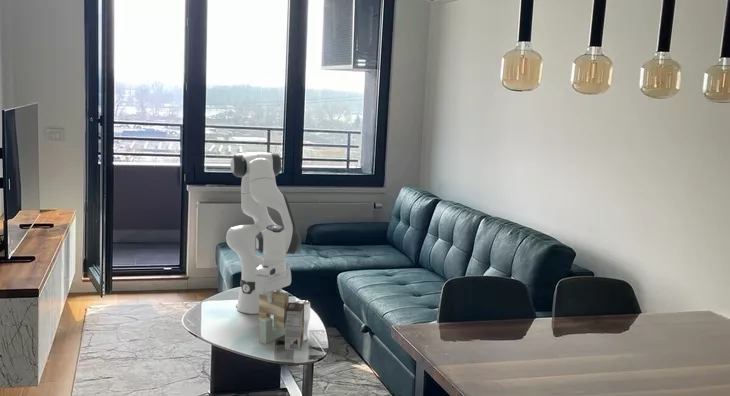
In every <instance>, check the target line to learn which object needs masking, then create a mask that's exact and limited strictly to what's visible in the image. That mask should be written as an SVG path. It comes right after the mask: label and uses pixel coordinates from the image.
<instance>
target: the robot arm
mask: <svg viewBox="0 0 730 396" xmlns="http://www.w3.org/2000/svg"><path fill="white" fill-rule="evenodd" d="M282 166H283V163H282V159H281V156H280V154H279V153H276V152H271V151H270V152H265V151H255V152H254V151H253V152H243V153H242V152H239V153H234V155H233V156H232V158H231V160H230V170H231V172H232V175H233V176H235V177H236V178H241V182H240V183H241V185H240V197H241V198H240V199H241V204H240V206H241V211H242V213H243V214H244V215H246V216H248V217H250V218H252V219H253V223H254V224H240V225H234V226H231V227H230V228H229V229H228V230H227V232H226V235H225V241H226V244H227V246H228V247H229V248H230V249H231V250H232V251H234V252H235V253H236V255H237V256H238V258H239V260H240V265H241V266H240V267H241V278H240V282H239V284H240V288H239V290H238V298H237V303H236V305H235V307H236V308H237V309H236V310H237V311H238V312H240V313H242V314H249V315H251V314H252V315H254V314H256V315H257V314H258V315H259V295H265V294H266V296H267V298H268V302H269V303H271V302H273V298H272V295H271V294H272V292H273V291H275V292H280V293H282V290H283V288H286V287H288V286H290V285H291V283H292V272H291V268H290V265H289V264H288V262H286V261H287V259H286V255H295V254H296V253H297V252H299V250H300V249H301V248H302V238H301V235H300V233H299V230H298V228H297V226H296V225H297V224H296V222H295V219H294V216H293V213H292V212H293V211H292V209H291V206H290V204H289V203H290V202H289V200H288V198H287V196H286V195H285V194H284V193H282V191H280V189H279V188H278V186H277V182H276V181H277V180H276V177H277V176H278V175H279V174H280V173H281V170H282V168H283V167H282ZM268 207H269V208H271V209H272V210H275V211H276V212H278V214H279V215H280V217H281V222H282V225H283V226H282V225H279V224H277V223H275V221H273V219H272V218H271V215H270V214H269V210H268ZM255 250H256V251H257V252H258V253H259V254H261V255H262V254H263V257H262V256H259V255H256V251H255Z"/></svg>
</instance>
